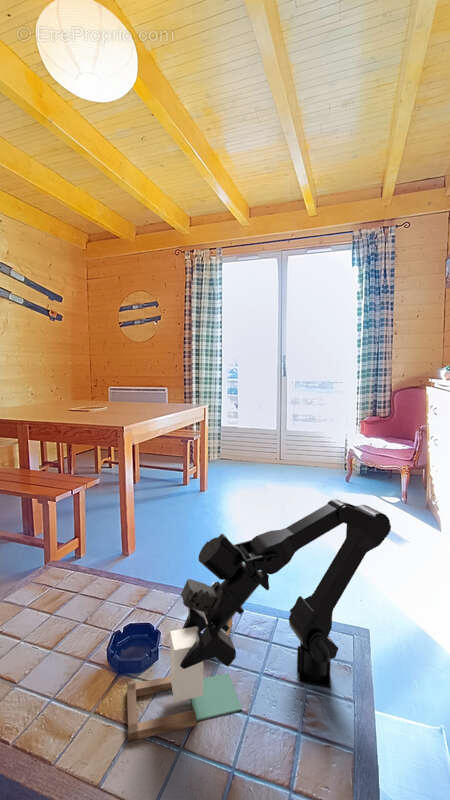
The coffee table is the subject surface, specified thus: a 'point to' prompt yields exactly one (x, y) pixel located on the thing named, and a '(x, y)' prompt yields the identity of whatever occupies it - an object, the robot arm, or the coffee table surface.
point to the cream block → (191, 678)
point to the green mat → (216, 698)
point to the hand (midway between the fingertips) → (179, 655)
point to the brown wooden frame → (157, 724)
